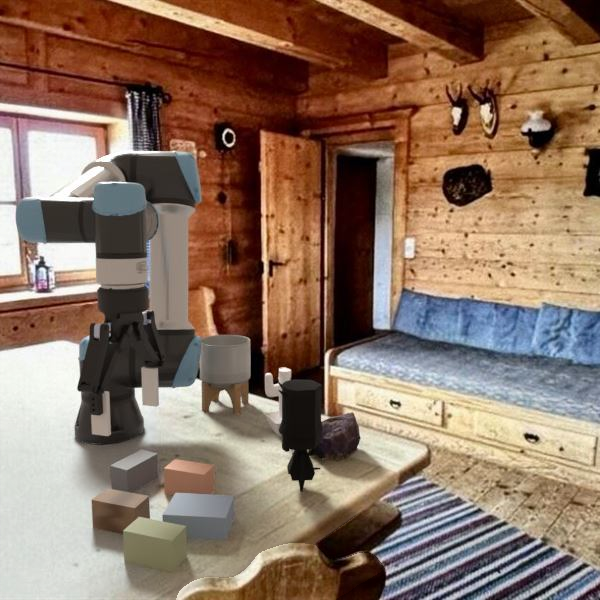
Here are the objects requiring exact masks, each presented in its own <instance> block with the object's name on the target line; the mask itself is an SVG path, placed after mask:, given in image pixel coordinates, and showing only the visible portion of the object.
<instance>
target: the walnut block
mask: <svg viewBox="0 0 600 600" xmlns="http://www.w3.org/2000/svg"><path fill="white" fill-rule="evenodd" d="M90 500H91V521H92V529H96V530H101V531H105V532H109V533H115V534H120V535H123V530H125V529H126V528H127V527H128V526H129V525H130V524H131V523H132V522H134V521H135V520H136V519H137V518H138V517H143V518H148V519H151V515H150V513H151V511H150V510H151V509H150V508H151V507H150V496H149V495H145V494H140V493H135V492H134V493H130V492H125V491H119V490H114V489H111V488H105V489H104V490H102V491H101V492H100V493H98V494H97V495H96V496H94V497H93V498H92V499H90Z"/></svg>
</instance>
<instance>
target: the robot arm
mask: <svg viewBox="0 0 600 600" xmlns="http://www.w3.org/2000/svg"><path fill="white" fill-rule="evenodd" d="M202 200H203V198H202V188H201V181H200V173H199V168H198V162H197V160H196V157H195V155H194V154H193V153H191V152H187V151H176V150H171V151H170V150H169V151H168V150H165V151H164V150H161V151H159V150H158V151H157V150H122V151H118V152H114V153H111V154H108V155H107V154H106V155H105V156H102V157H100V158H98V159H96V160H94V161H91V162H90V163H88V164H87V165H86V166H85V167H84V169H83V170H82V172H81V175H79V176H78V177H76V178H75V179H74V180H72V181H71V182H69V183H68V184H66V185H64V186H62V187H61V188H60V189H58V190H56V191H55V192H54V193H53V194H51V195H49V196H45V197H44V196H42V197H41V196H40V195H39V196H38V195H37V196H28V197H23V198H21V199H20V200H19V201H18V203H17V205H16V209H15V224H16V230H17V232H18V234H19V237H20V238H21V239H23V240H24V241H25V242H28V243H35V244H36V243H39V244H40V243H41V244H43V245H47V244H94V246H95V279H96V284H98V285H100V287H98V288H97V289H96V290H97V291H96V293H97V295H96V296H97V297H96V298H97V309H98V311H99V312H100V313H102V314H103V315H104V320H103V323H100V322H99V323H96V322H95V323H94V322H92V323H90V325H89V333H88V335H87V336H85V337H83V338H82V339H81V341H80V342H79V345H78V346H79V347H78V351H79V352H78V362H79V363H78V365H79V379H78V383H77V388H76V389H77V391H78V392H80V399H81V402H80V405H79V409H78V412H77V416H76V420H75V423H74V437H75V439H76V438H77V439H76V440H78V441H79V440H80V441H79V442H82V441H83V442H82V443H85V442H86V444H91V443H92V445H107V443H108V444H115V443H120V442H121V443H122V442H124V441H127V440H130V439H134V438H135V437H138V436H139V435H140V434H142V433H143V432H144V429H145V420H144V416H143V414H142V412H141V409H140V405H139V403H138V400H137V398H136V389H141V397H142V398H141V401H142V402H141V403H142V406H146V407H147V406H148V407H157V408H158V407H159V406H160V394H159V392H160V391H159V389H161V388H163V389H164V388H172V389H175V388H186V387H190V386H193V384H194V383H195V382H196V379H197V376H198V372H199V369H200V355H201V342H202V341H201V339H202V337H201V336H200V335H198V334H196V330H195V329H196V327H194V325H192V323H190V321H189V218H190V217H191V216H192V215H193V214H194V213H195V212H196V205H198V204H200V203H202V202H203V201H202ZM148 242H150V244H149V245H150V246H149V248H150V249H149V250H150V252H149V261H150V262H149V265H148ZM148 270H149V274H148ZM147 282H149V287H148V286H147V285H145V284H147ZM148 309H149V310H148ZM93 443H95V444H93Z"/></svg>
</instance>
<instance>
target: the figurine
mask: <svg viewBox="0 0 600 600" xmlns="http://www.w3.org/2000/svg"><path fill="white" fill-rule="evenodd" d="M273 376H274V375H273V374H272V373H271V372H266V373H265V374H264V391H265V395H266V397H268V398H275V397H278V411H273V412H271V411H270V412H267V413H266V412H265V413H264V416H265V418H266V420H267V423H268V424H269V426H270V428H271V431H273V432H274V433H276V435H277V436H278V437H282V434H280V432H279V427H280V424H281V421H282V394H281V393H280V392H279V391H278V390H280V391H282V388H281V387H280V385H279V384H278V383H275V384H274V377H273ZM277 379H278V380H277V381H278V382H279V383H281V384H283V383H284V382H286V381H289V380H292V369H291V368H288V367H286V366H285V367H284V366H283V367H279V368H278V377H277Z"/></svg>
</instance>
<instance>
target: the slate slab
mask: <svg viewBox="0 0 600 600" xmlns="http://www.w3.org/2000/svg"><path fill="white" fill-rule="evenodd" d="M161 518H162V521H163V522H168V523H173V524H179V525H184V526H186V533H187V539H200V540H201V539H202V540H203V539H204V540H219V541H220V540H222V541H223V540H224V541H227V539H228V535H229V532H230V529H231V527H232V524H233V522H234V518H235V495H232V494H213V493H212V494H194V493H175V494H174V495H172V498H171V500H170V501H169V502H168V505H167V506H166V508H165V510H164V511H163V512H162V517H161Z"/></svg>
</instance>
